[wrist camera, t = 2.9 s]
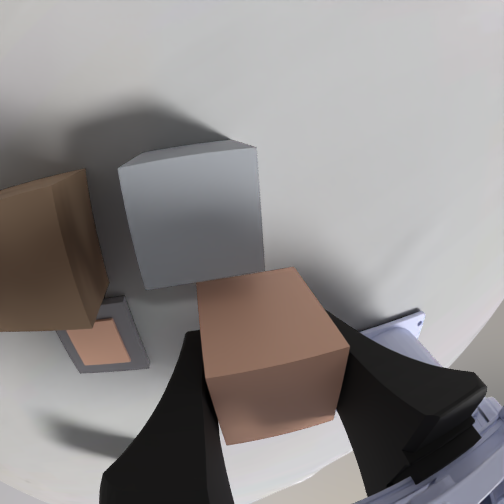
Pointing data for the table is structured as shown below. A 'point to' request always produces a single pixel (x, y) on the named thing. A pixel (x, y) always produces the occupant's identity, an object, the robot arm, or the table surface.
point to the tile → (107, 341)
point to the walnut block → (49, 256)
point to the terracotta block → (269, 354)
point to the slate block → (194, 212)
